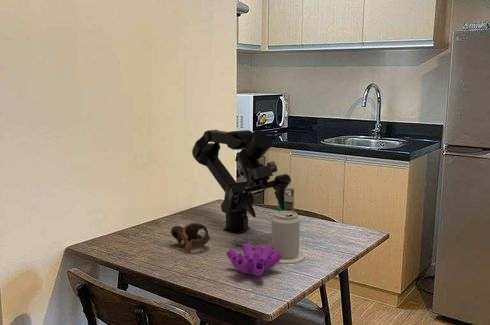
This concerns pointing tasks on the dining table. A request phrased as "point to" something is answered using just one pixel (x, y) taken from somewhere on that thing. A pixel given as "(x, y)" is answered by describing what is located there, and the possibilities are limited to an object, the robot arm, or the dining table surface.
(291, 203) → the food container
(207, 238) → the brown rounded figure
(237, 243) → the thin grey rod
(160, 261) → the dining table surface
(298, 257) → the disc
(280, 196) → the robot arm
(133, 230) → the dining table surface
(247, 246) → the purple tube coral sculpture
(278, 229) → the can
